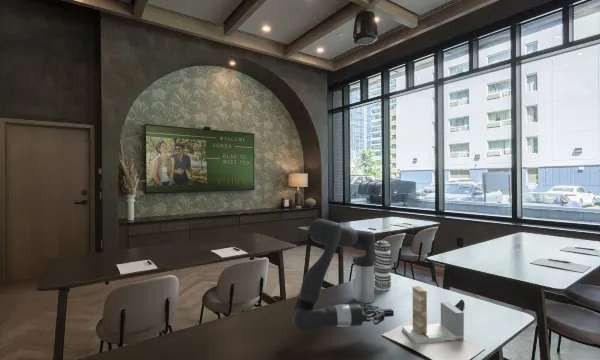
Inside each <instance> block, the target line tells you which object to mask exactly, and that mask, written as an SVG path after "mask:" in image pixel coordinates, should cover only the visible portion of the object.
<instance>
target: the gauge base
mask: <svg viewBox="0 0 600 360" xmlns="http://www.w3.org/2000/svg"><path fill="white" fill-rule="evenodd" d="M464 315H465V313H464V311H463V310H462V311H461V310H459V309H458V308H456V307H455V305H453V304H452V303H450V302H449V301H441V302H440V323H430V324H429V323H427V334H426V335H427V336H428V337H429V338H427V337H426V336H425V335H424V334H418V333H417V332H416V331H415V330H414V329H413V325H403V326H402V330H401V331H403V332H404V334H405V335H406V334H407V335H408V336H409V337H410V338H409V337H408V336H407V335H406V336H407V337H408V338H409V339H410V340H411V341H412V342H413V344H424V343H437V342H439V341H440V342H446V341H445V340H451V339H464V337H465V336H464V335H465V333H464V331H465V327H464V326H465V321H464V319H465V316H464Z"/></svg>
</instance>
